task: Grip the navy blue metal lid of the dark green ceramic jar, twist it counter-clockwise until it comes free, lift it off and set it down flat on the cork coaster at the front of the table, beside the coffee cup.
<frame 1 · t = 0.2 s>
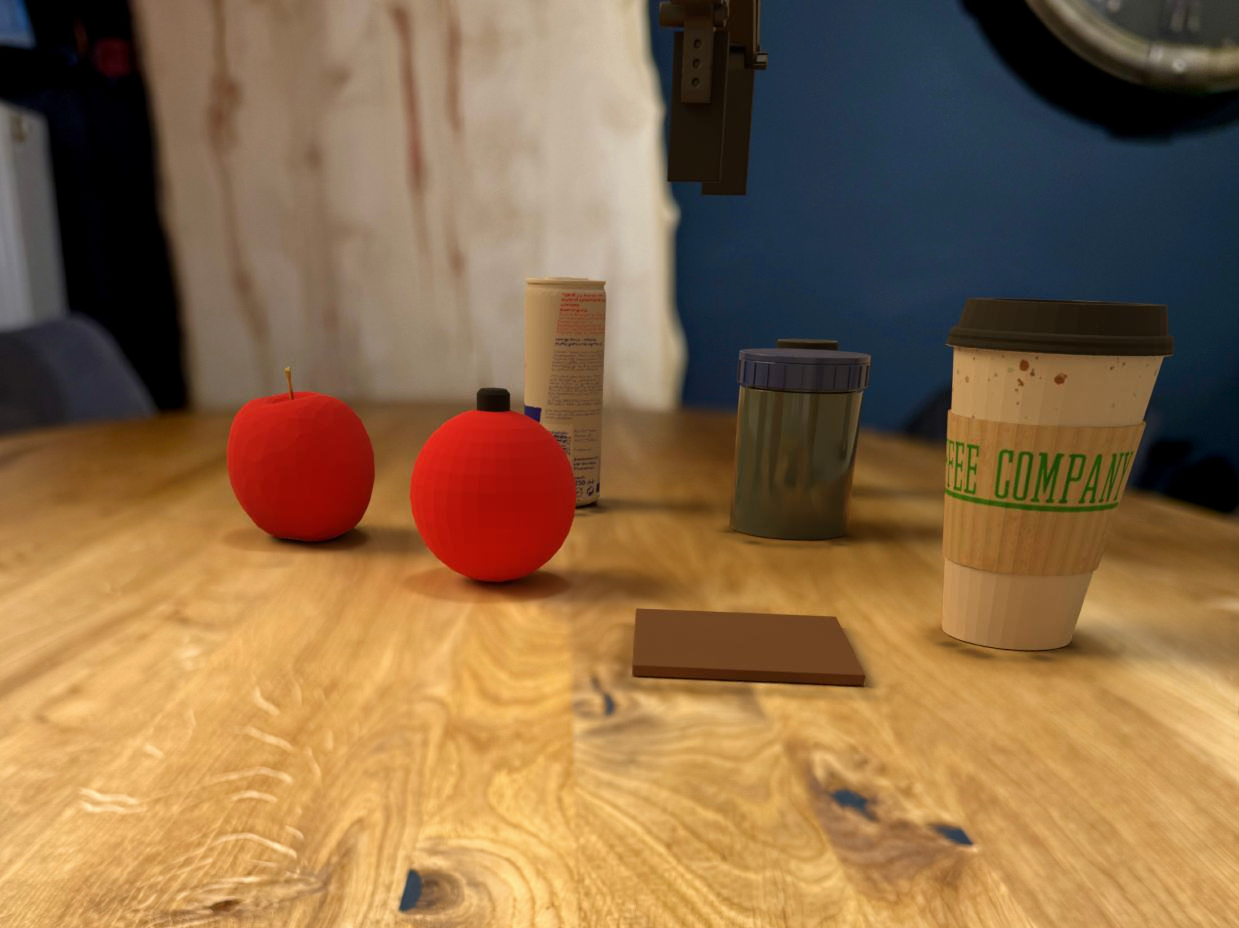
hand: (710, 189, 72), 20 cm above the table, tool pointing down, fingers open, 13 cm apart
lid: (804, 359, 82), point 11 cm above the table, screwed on, not yet turned
fruit: (307, 539, 80), on the table
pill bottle: (792, 491, 102), on the table
beverage can: (561, 504, 94), on the table
coaster: (740, 649, 59), on the table
ornament: (493, 583, 71), on the table
jar: (787, 528, 87), on the table
coffee cup: (1004, 636, 63), on the table
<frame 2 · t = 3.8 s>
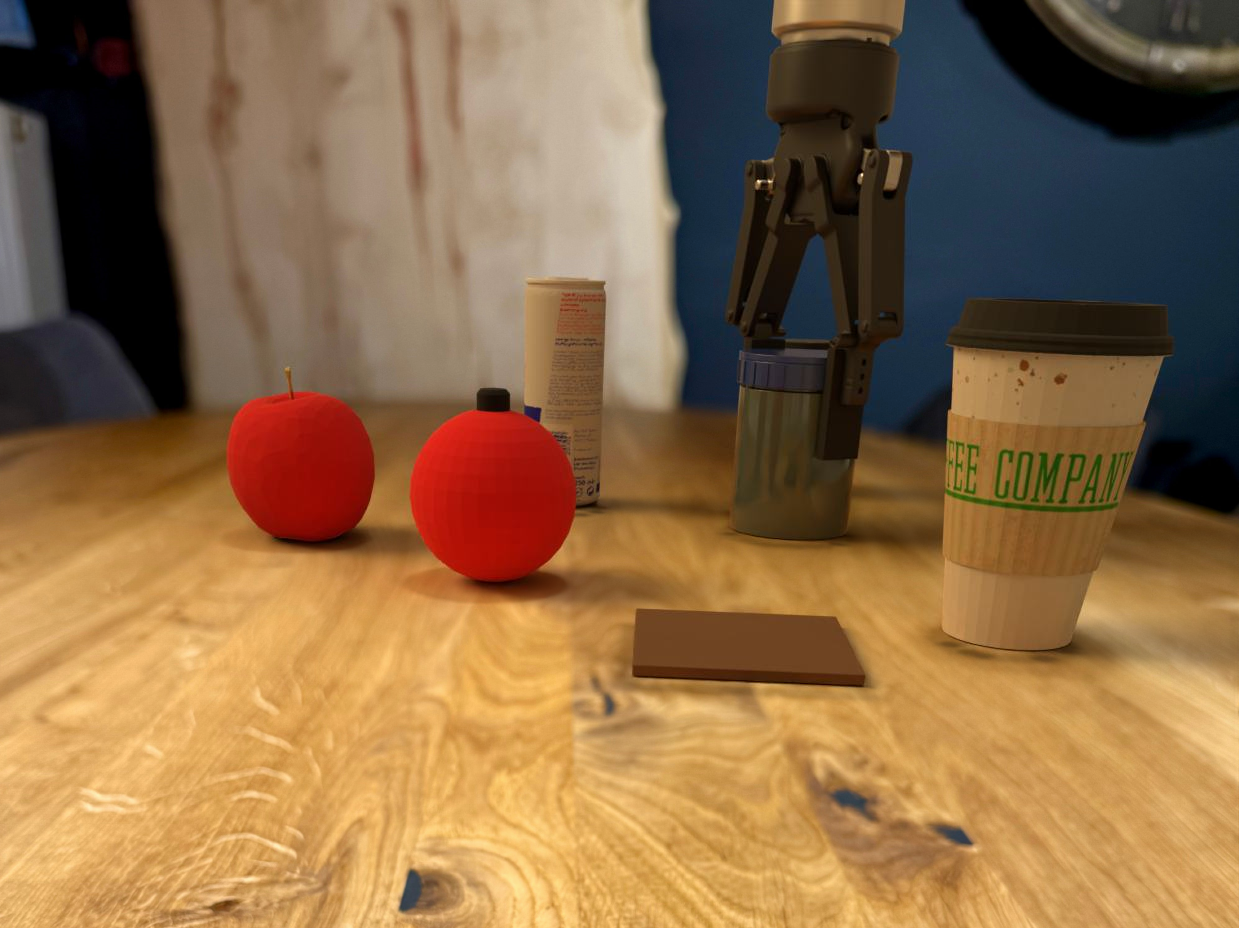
hand: (795, 448, 84), 5 cm above the table, tool pointing down, fingers closed on lid, 8 cm apart
lid: (804, 359, 82), point 11 cm above the table, screwed on, not yet turned, touching gripper
everything else where it was.
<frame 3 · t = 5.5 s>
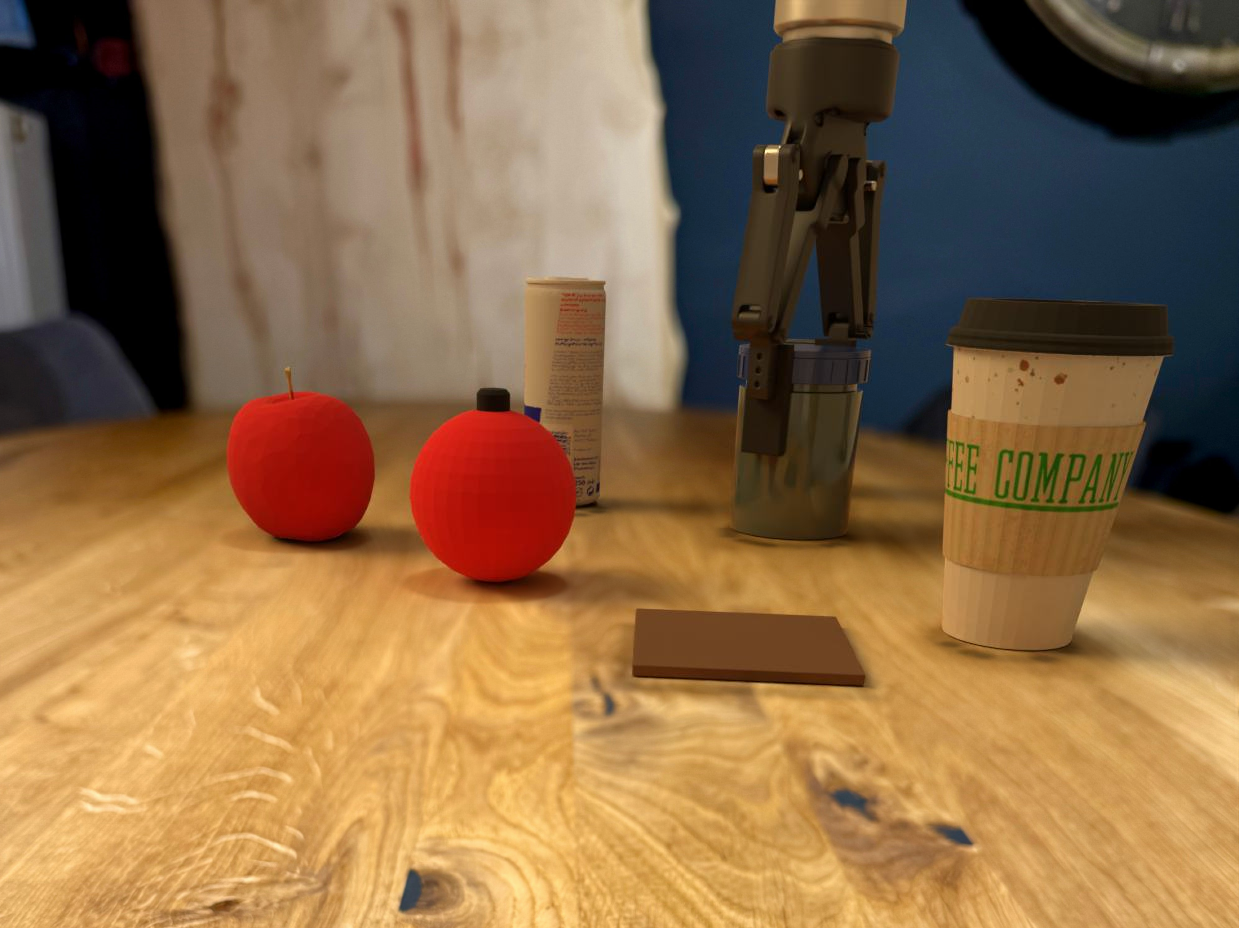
hand: (794, 446, 84), 5 cm above the table, tool pointing down, fingers closed on lid, 8 cm apart
lid: (804, 354, 82), point 11 cm above the table, turned 117° so far, risen 0.3 cm, still on its thread, touching gripper
everything else where it was.
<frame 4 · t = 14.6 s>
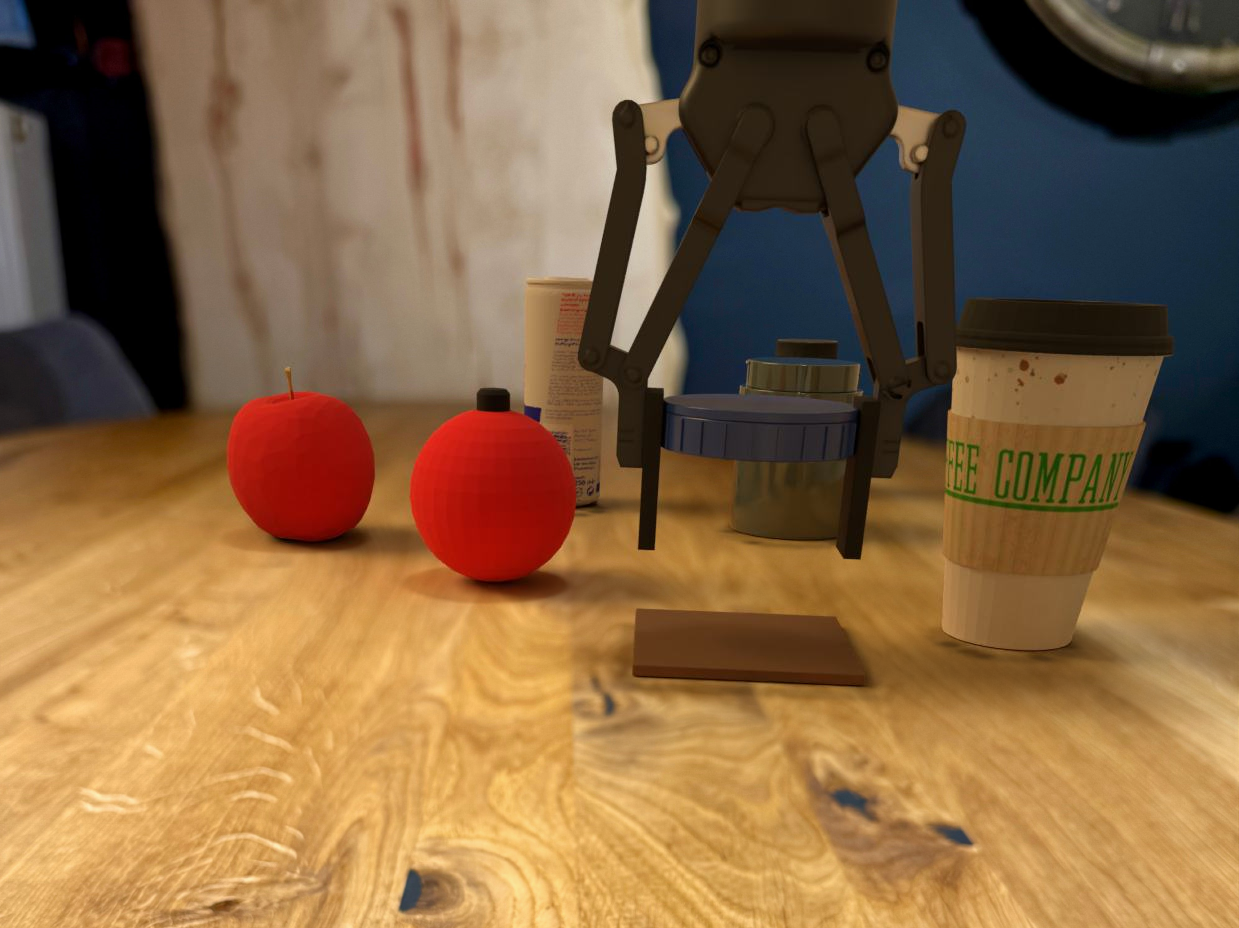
hand: (747, 548, 57), 5 cm above the table, tool pointing down, fingers closed on lid, 8 cm apart
lid: (759, 412, 55), point 10 cm above the table, off its thread, touching gripper
everything else where it was.
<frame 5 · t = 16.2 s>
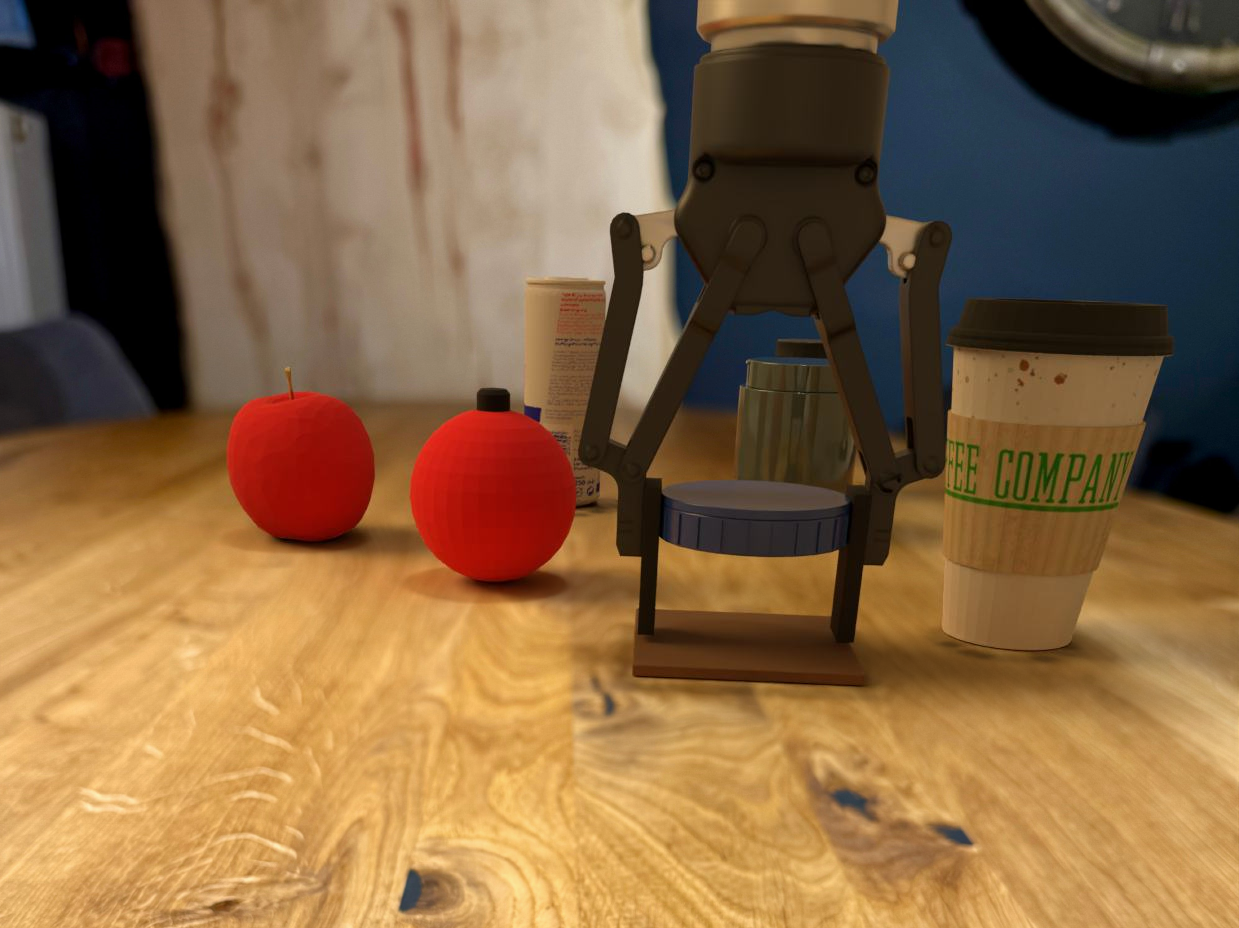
hand: (743, 630, 59), 1 cm above the table, tool pointing down, fingers closed on lid, 8 cm apart
lid: (754, 503, 56), point 7 cm above the table, off its thread, touching gripper
everything else where it was.
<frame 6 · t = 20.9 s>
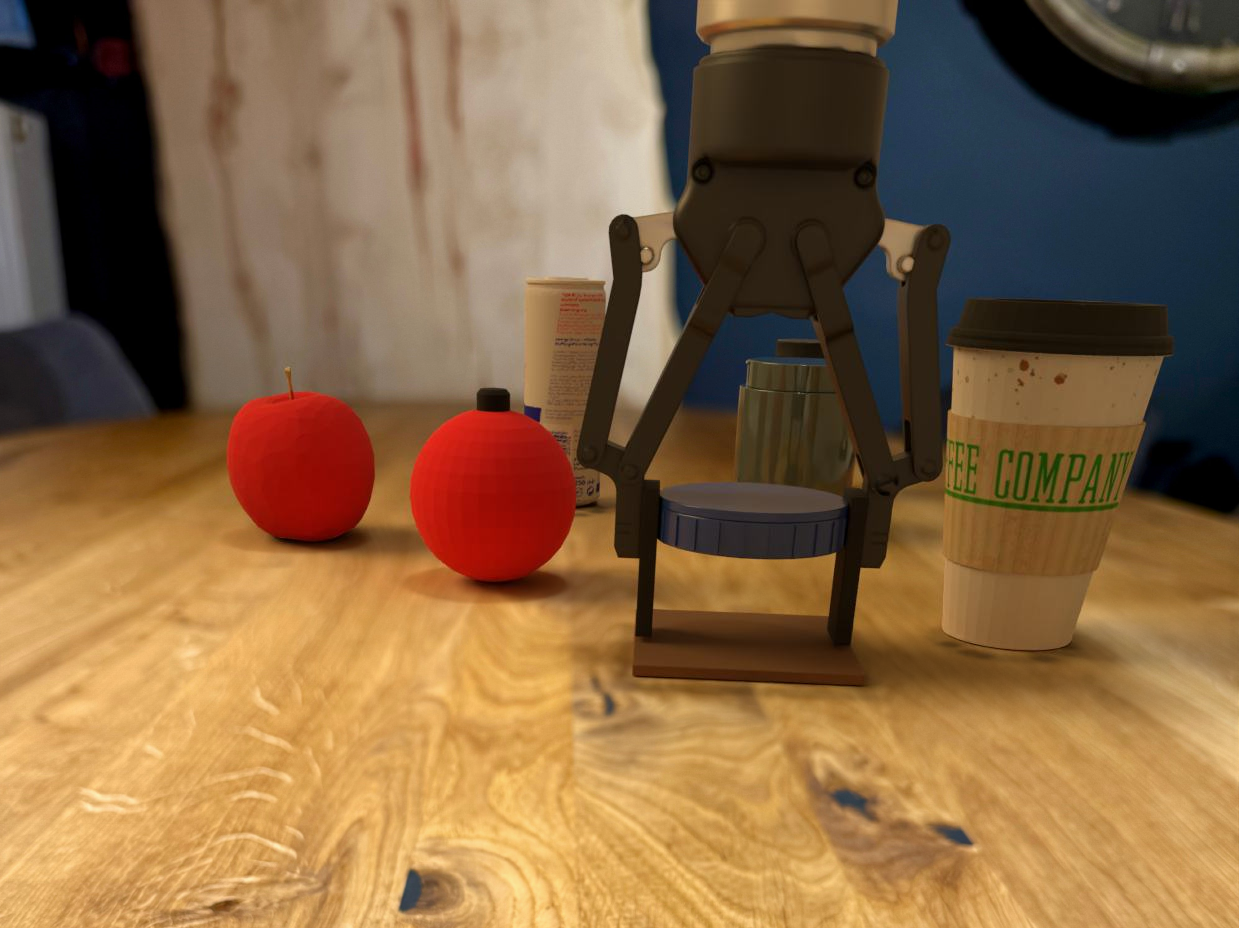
hand: (740, 632, 59), 1 cm above the table, tool pointing down, fingers closed on lid, 8 cm apart
lid: (752, 505, 56), point 7 cm above the table, off its thread, touching gripper
everything else where it was.
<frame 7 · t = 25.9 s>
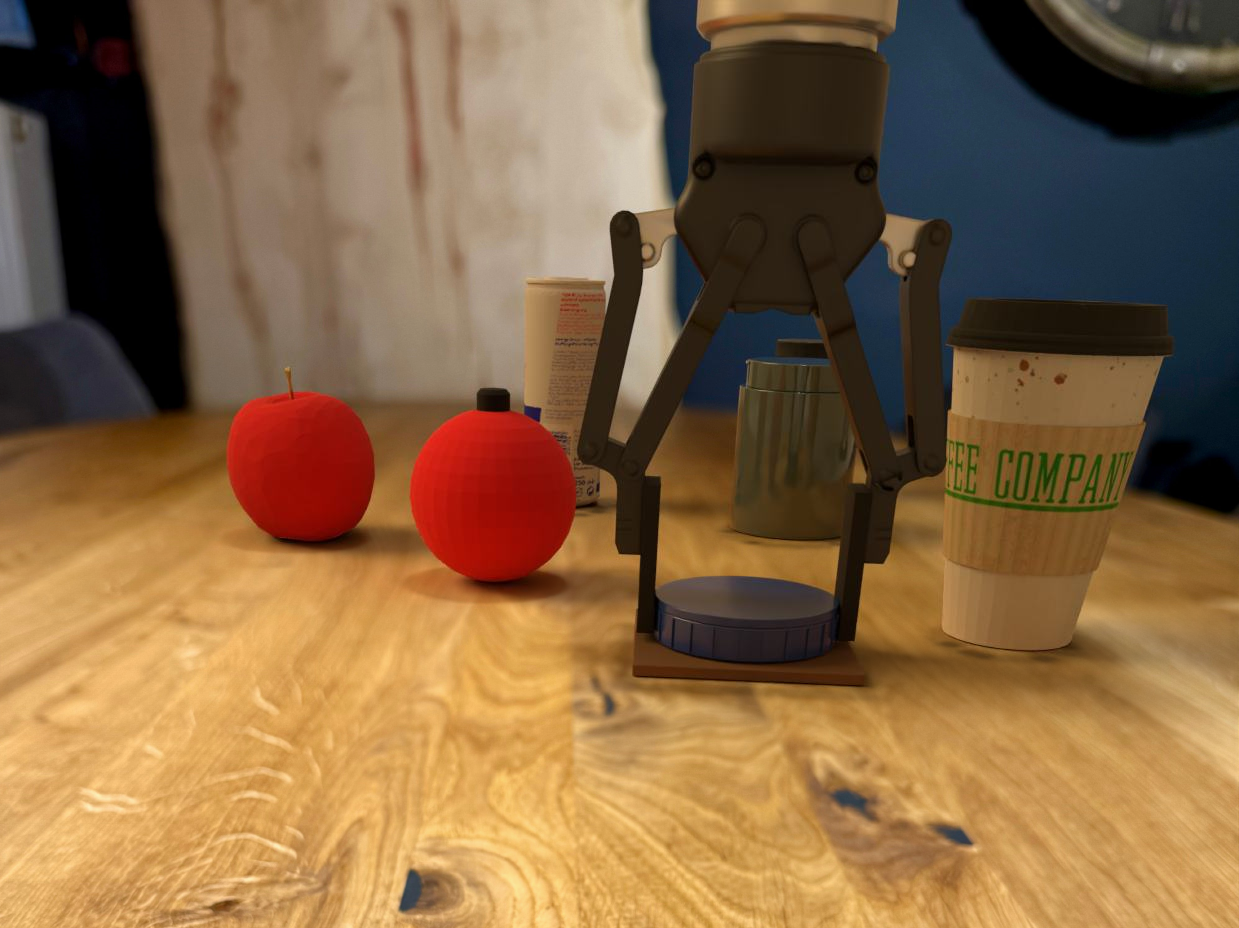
hand: (743, 629, 59), 1 cm above the table, tool pointing down, fingers closed on lid, 8 cm apart
lid: (745, 604, 58), point 2 cm above the table, off its thread, touching gripper
everything else where it was.
when the fingers open (1 cm above the table, at t = 26.1 s): lid stays where it is, resting on coaster.
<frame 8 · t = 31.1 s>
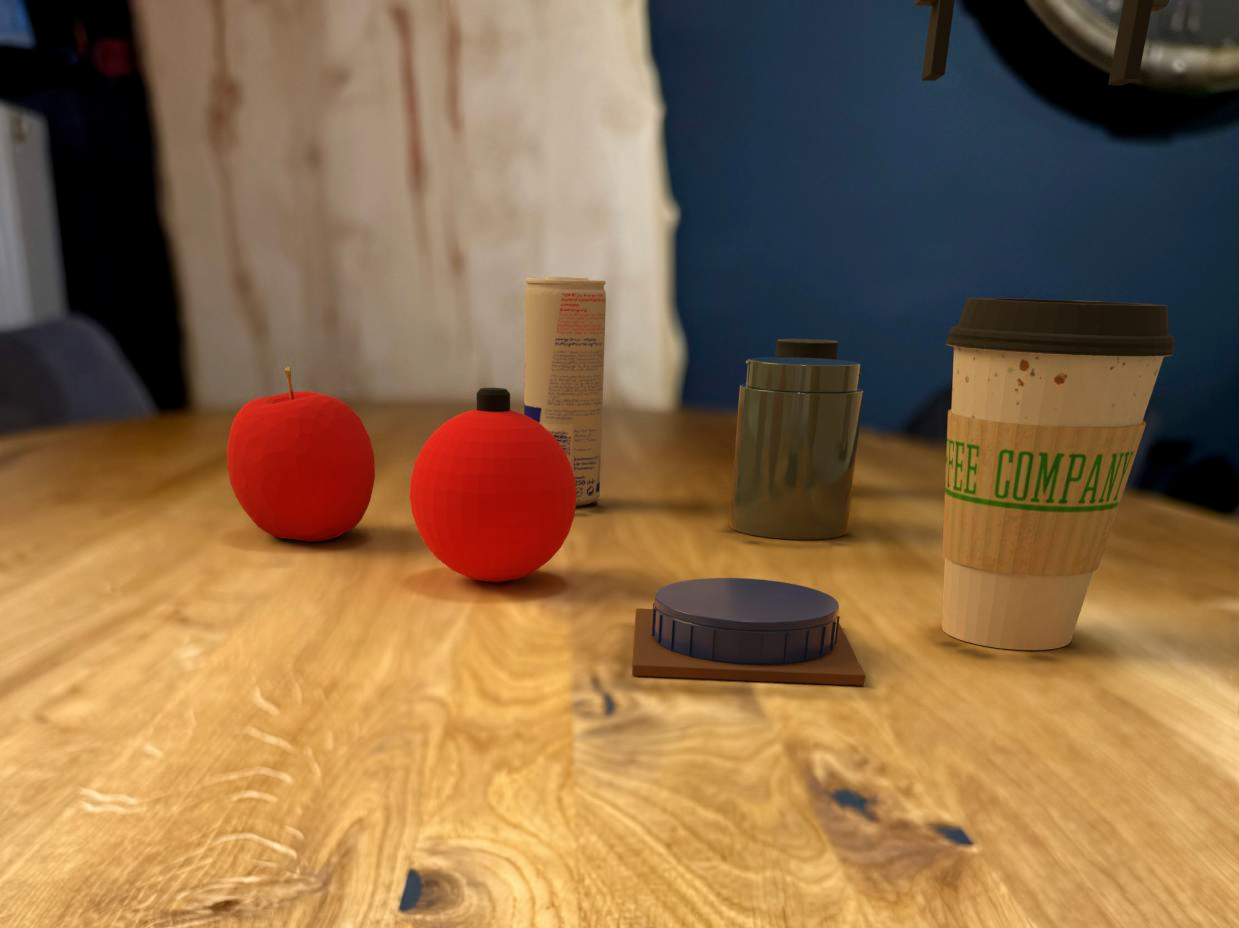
hand: (1027, 79, 70), 26 cm above the table, tool pointing down, fingers open, 10 cm apart
lid: (745, 607, 58), point 2 cm above the table, off its thread, touching coaster
everything else where it was.
at the end: lid came off its thread; lid inside the target area on the coaster (0.1 cm from its centre), point 2.0 cm above the coaster's base; the gripper is holding nothing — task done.
